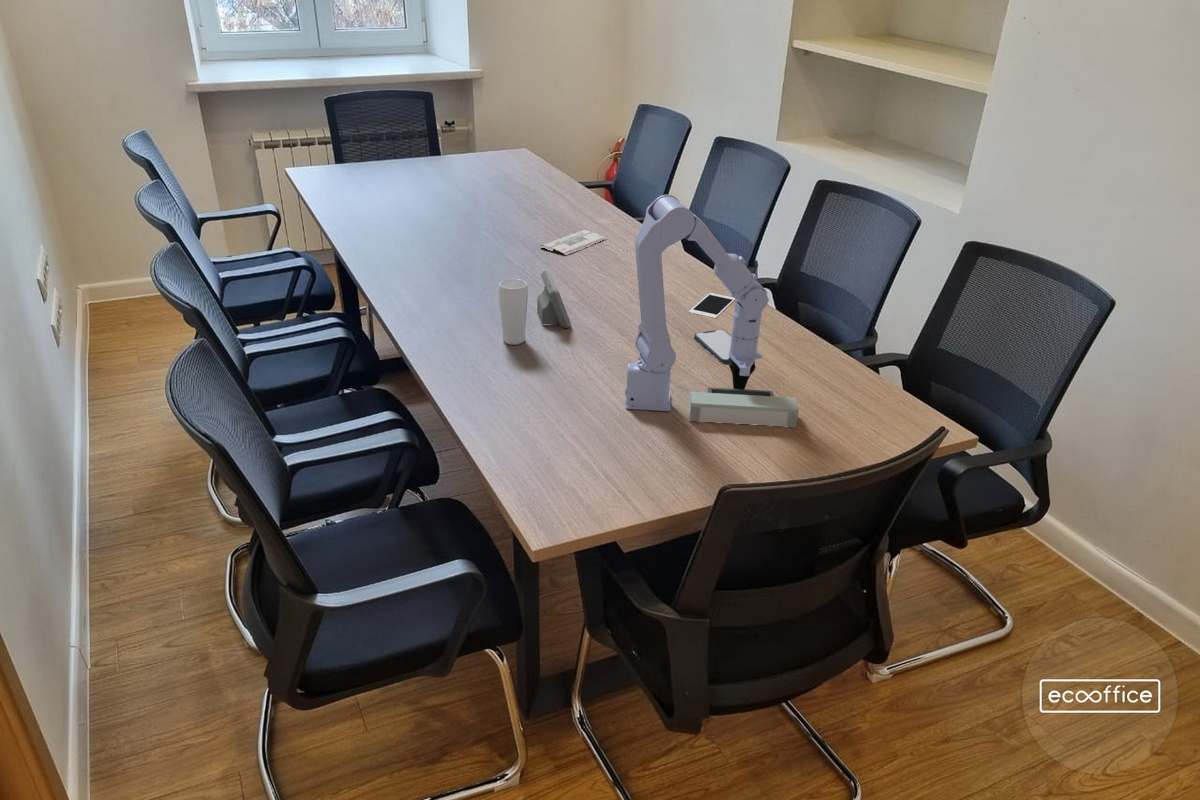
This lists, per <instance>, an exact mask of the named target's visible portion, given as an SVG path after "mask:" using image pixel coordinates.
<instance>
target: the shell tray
mask: <svg viewBox="0 0 1200 800" xmlns="http://www.w3.org/2000/svg"><path fill="white" fill-rule="evenodd" d="M706 393H721V394H738V395H756V396H773V397H775V396H774V391H773V390H760V389H746V388H745V389H733V388H725V387H724V388H723V387H712V386H711V387H709V386H708V387H707V392H706Z"/></svg>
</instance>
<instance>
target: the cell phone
mask: <svg viewBox="0 0 1200 800" xmlns="http://www.w3.org/2000/svg"><path fill="white" fill-rule="evenodd" d="M734 301H736V299H735V298H734V297H732V296H729V295H728V296H727V295H723V294H717V293H712V292H709V293H708V294H707V295H706V296H704V297H703V298H702V299H701V300H700V301H698V303H696V304H695V305H694V306H693V307H692V308H691V309H690V310H688V313H689V312H691V313H690V314H693V313H695V314H694V315H697V314H699V316H702V315H703V316H702V317H706V316H707V318H711V319H717V318H719V316H720V315H722V313H723V312H724V311H725V310H726V309H728V307H730V305H731V304H732V303H734Z"/></svg>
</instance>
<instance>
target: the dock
mask: <svg viewBox="0 0 1200 800" xmlns="http://www.w3.org/2000/svg"><path fill="white" fill-rule="evenodd" d="M799 411H800V409H799V406H798V402H797V398H796V397H787V396H774V397H773V396H756V395H738V394H721V393H707V392H702V391H689V401H688V416H689V417H688V418H690V420H689V422H690V421H696V422H695V423H705V422H721V423H720V424H722V423H740V424H757V425H773V426H787V427H786V428H789V427H797V423H798V418H799V417H798V416H799Z"/></svg>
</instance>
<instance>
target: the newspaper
mask: <svg viewBox="0 0 1200 800" xmlns="http://www.w3.org/2000/svg"><path fill="white" fill-rule="evenodd" d="M572 233H573V232H572ZM569 234H570V235H568V234H567V235H568V236H566V235H564V236H565V237H564V236H561V237H562V238H561V237H559V238H557V239H555V240H552V241H550V242H547V243H544V244H542V245H540V246H547V247H550V248H553V249H555V250H554V251H558V252H559V253H562V254H564V255H565V254H566V253H568V252H572V251H575V250H578V249H580V248H583V247H586V246H588V245H591V244H594V243H597V242H600V241H602V240H605V241H607V240H608V238H607V237H605V236H604V235H600V234H598V233H596V232H593V231H590V230H586V229H582V230H580V231H578V232H576V233H573V234H571V233H569ZM606 239H607V240H606ZM602 242H603V241H602ZM600 243H601V242H600ZM597 244H598V243H597Z"/></svg>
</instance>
